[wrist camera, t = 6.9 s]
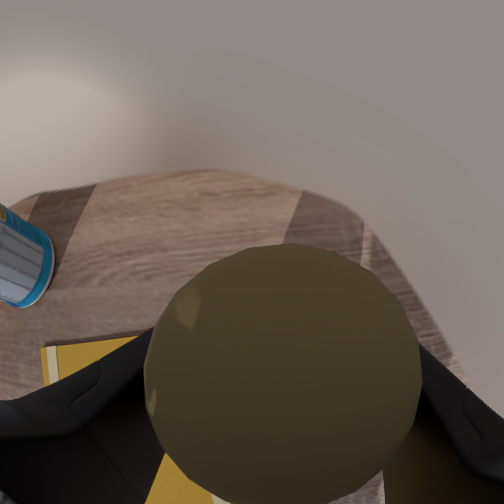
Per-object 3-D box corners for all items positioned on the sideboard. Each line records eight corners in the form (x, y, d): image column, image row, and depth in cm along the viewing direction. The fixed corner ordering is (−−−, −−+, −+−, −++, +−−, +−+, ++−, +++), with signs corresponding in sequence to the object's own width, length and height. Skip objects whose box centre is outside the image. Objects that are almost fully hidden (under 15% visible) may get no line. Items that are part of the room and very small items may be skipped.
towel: (259, 559, 15) (258, 562, 15) (89, 543, 16) (86, 545, 15) (207, 324, 22) (206, 323, 22) (43, 347, 23) (39, 347, 22)
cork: (212, 326, 15) (76, 244, 5) (331, 296, 15) (399, 158, 5) (240, 443, 13) (142, 564, 3) (363, 412, 13) (493, 482, 3)
